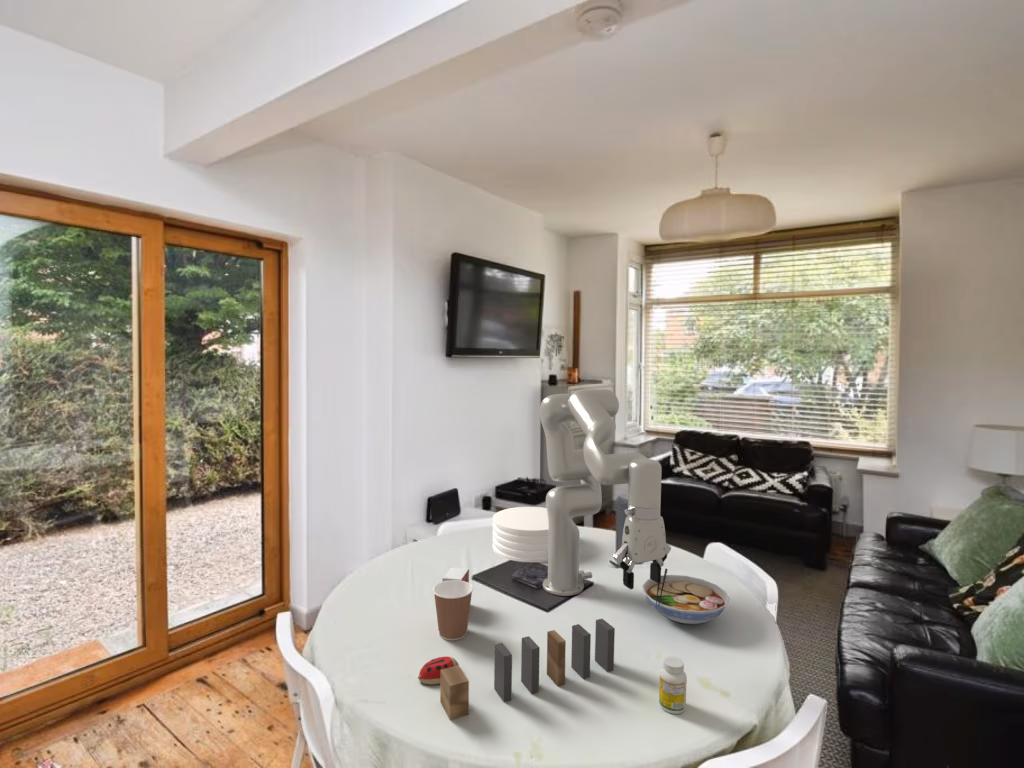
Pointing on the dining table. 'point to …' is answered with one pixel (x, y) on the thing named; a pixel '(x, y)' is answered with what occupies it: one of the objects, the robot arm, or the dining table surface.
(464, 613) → the coffee cup
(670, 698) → the supplement bottle
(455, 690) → the end block
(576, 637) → the domino
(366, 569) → the dining table surface
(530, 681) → the domino
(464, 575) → the small box
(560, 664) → the domino
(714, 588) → the ramen bowl
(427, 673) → the ladybug figurine
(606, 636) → the domino
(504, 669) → the domino
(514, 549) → the plate stack
